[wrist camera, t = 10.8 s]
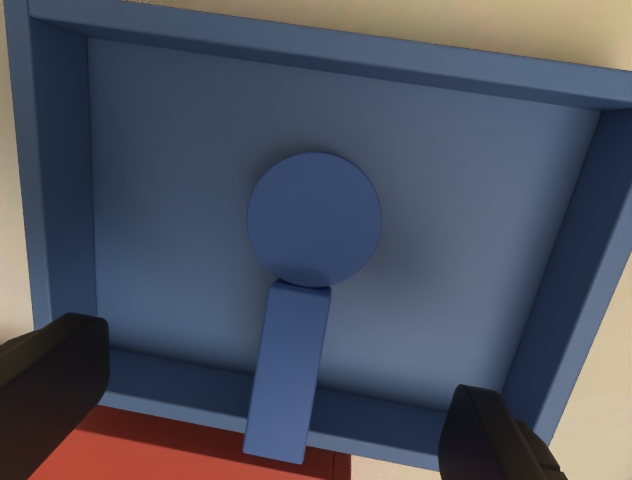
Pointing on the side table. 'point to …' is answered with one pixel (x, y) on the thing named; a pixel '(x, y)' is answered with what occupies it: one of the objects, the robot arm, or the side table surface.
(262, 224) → the blue spoon
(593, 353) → the side table surface
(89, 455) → the red tray
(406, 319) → the blue tray
